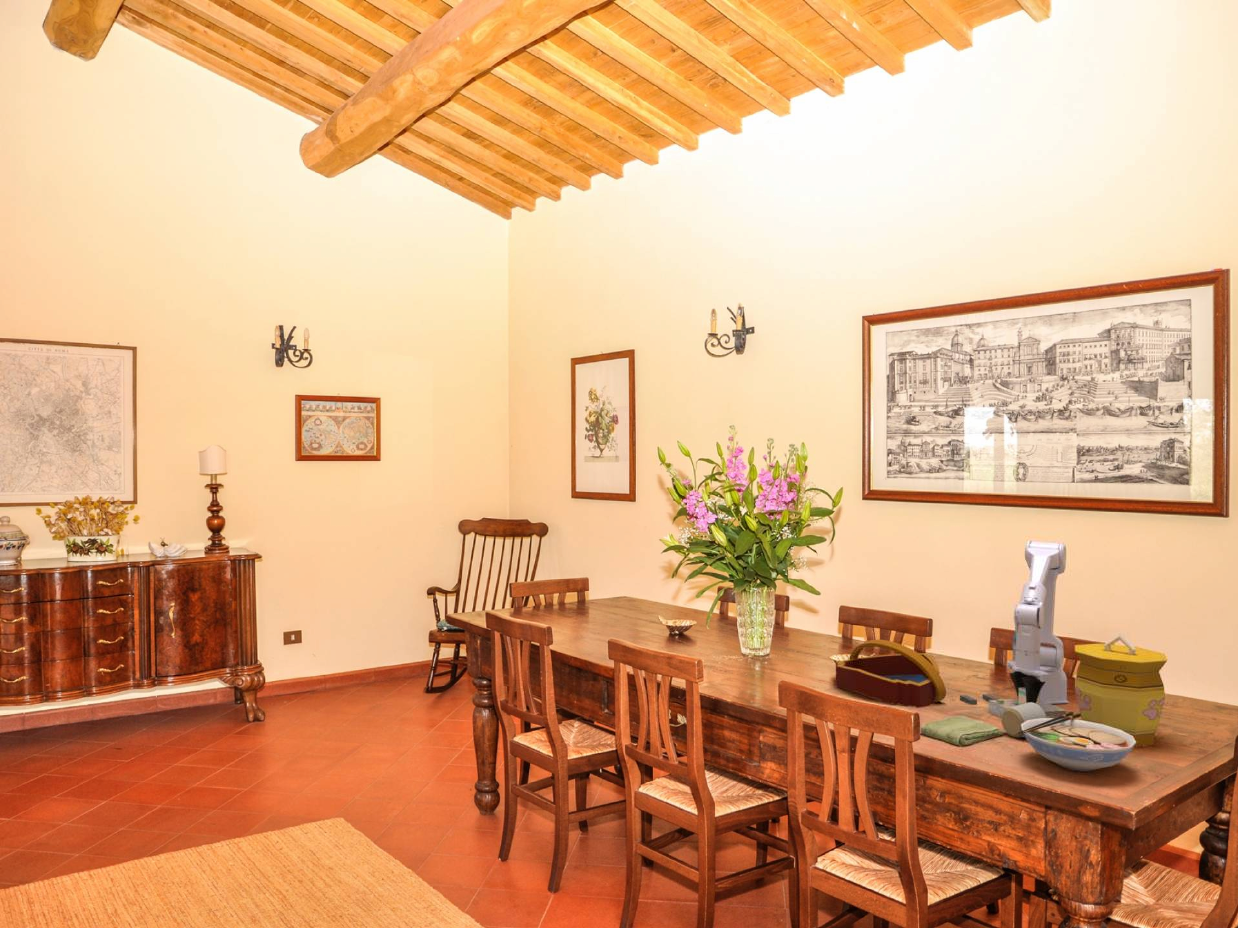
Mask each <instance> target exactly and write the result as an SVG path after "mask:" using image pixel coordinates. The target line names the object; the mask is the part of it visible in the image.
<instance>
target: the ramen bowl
mask: <svg viewBox="0 0 1238 928" xmlns="http://www.w3.org/2000/svg"><path fill="white" fill-rule="evenodd" d="M1065 717H1066V718H1065ZM1077 718H1081V714H1080V712H1077V713H1075V714H1074V711H1069V712H1066V714H1063V715H1061V716H1058V717H1056V718H1039V719H1032V720H1027V721H1026V722H1024V723H1022V724H1021V727H1022V731H1021V732H1019V733H1020V734H1023V733H1024V735H1025V737H1024V738H1026V740H1027V742H1028V744H1029V745H1030V746H1031V747H1032V749H1033V750H1034V751H1035V752H1036V753H1038V754H1040V756H1042V757H1043V758H1045V759H1047V760H1048V761H1051V762H1052V763H1056V764H1057V765H1058V766H1059V767H1062V768H1064V769H1067V768H1068V769H1067V770H1071V771H1075V770H1078V771H1077V772H1092V771H1095V770H1098V769H1103V768H1109V767H1112V766H1115V765H1117V764H1119V763H1120V762H1121V761H1122V760H1123V759H1124V758H1125V757H1127V756H1128V755H1129V753H1130V752H1131V750H1133V749H1134V748H1135V747H1134V745H1135V744H1136V741H1135V739H1134V737H1133V736H1131V735H1130V734H1128V733H1126V732H1124V731H1122V730H1119V729H1116V728H1113V727H1110V726H1106V725H1103V724H1098V723H1093V722H1088V721H1082V720H1081V719H1077ZM1022 732H1023V733H1022ZM1019 733H1017V734H1019ZM1091 770H1092V771H1091Z"/></svg>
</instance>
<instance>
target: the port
mask: <svg viewBox="0 0 1238 928" xmlns="http://www.w3.org/2000/svg"><path fill="white" fill-rule="evenodd" d="M1017 705H1018V698H1008V699H1005V698H1004V699H1002V698H999V699H996V700H989V701H988V713H989V714H991V715H994V716H995V717H997V718H1000V719H1001V717H1002V714H1003V712H1004V711H1005V710H1006V709H1008V708H1010V707H1013V706H1017ZM1039 706H1040V707H1041V708H1042V709H1043V711H1044V712H1045V714H1046V717H1047V718H1056V717H1058V716H1061V715H1063V714H1066V713H1067V710H1066V709H1063V708H1061V707H1059V706H1056V705H1054V704H1049V703H1047V702H1044V701H1042V700H1040V703H1039ZM1065 718H1066V717H1065Z"/></svg>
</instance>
